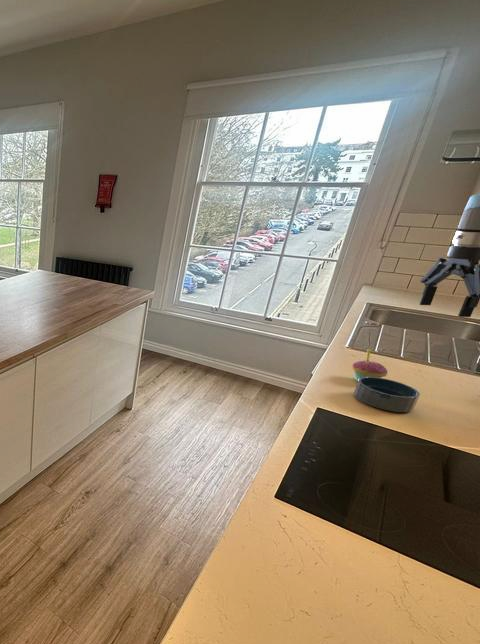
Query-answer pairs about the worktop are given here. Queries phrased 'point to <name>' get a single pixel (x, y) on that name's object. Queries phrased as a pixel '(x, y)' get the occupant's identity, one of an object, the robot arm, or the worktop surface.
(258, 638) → the worktop surface
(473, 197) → the robot arm
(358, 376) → the cupcake
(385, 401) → the bowl
